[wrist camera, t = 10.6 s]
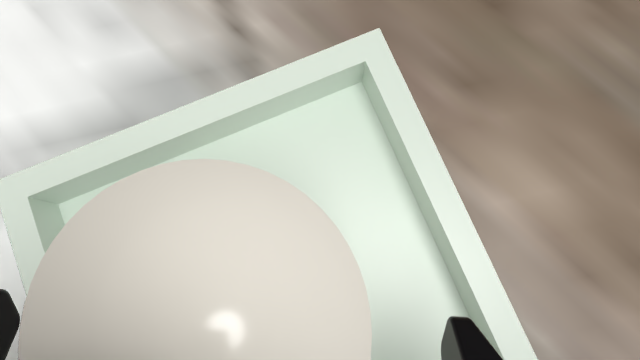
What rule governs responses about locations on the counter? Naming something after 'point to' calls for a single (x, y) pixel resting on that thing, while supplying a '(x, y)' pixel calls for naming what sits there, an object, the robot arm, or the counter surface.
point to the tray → (312, 188)
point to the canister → (198, 274)
